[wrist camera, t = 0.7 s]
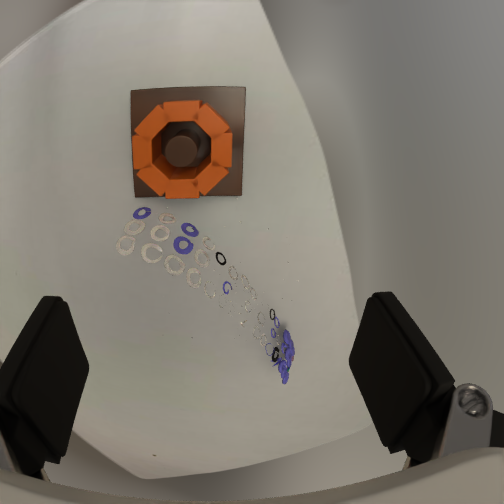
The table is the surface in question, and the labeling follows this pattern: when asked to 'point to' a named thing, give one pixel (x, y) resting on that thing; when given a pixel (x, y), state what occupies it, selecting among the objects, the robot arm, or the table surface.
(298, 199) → the table surface
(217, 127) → the orange octagonal tube
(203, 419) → the table surface
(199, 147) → the rack
